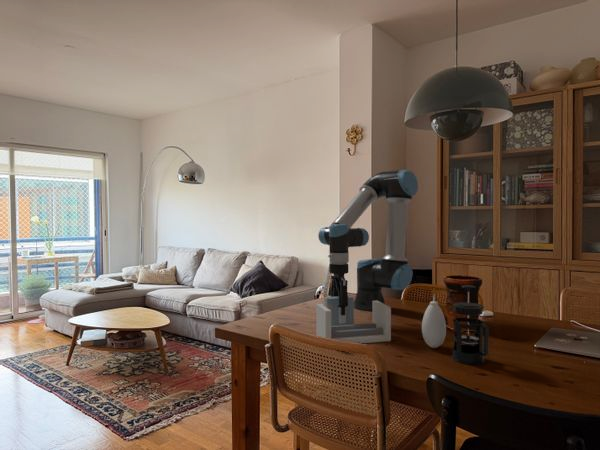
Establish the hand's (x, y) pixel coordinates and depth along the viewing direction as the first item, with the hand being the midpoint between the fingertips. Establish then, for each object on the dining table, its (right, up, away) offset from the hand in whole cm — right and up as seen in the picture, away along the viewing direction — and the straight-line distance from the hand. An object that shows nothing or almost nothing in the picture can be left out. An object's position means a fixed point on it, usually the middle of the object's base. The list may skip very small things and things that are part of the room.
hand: (339, 320), depth 172 cm
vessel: (+48, -3, -1) cm, 49 cm away
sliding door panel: (0, -3, 0) cm, 3 cm away
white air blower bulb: (+30, -3, -26) cm, 40 cm away
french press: (+37, -4, -39) cm, 53 cm away
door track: (+4, -3, -16) cm, 16 cm away
